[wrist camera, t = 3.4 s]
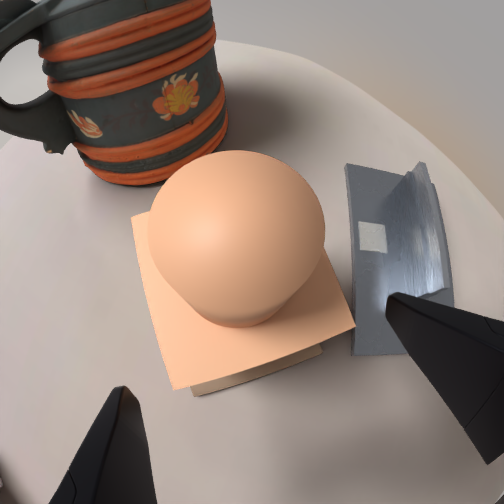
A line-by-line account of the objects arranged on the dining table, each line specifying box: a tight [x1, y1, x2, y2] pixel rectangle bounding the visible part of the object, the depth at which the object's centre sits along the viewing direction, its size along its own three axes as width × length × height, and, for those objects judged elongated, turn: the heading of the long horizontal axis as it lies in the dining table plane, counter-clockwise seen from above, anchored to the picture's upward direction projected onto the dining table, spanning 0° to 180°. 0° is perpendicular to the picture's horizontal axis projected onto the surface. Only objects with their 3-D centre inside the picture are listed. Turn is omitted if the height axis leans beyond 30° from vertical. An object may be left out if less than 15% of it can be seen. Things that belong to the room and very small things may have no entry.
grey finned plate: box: [345, 162, 454, 356], centre depth 18 cm, size 16×10×5 cm, turn 175°
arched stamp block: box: [131, 150, 356, 390], centre depth 12 cm, size 6×6×14 cm
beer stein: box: [0, 0, 228, 186], centre depth 14 cm, size 19×15×20 cm
